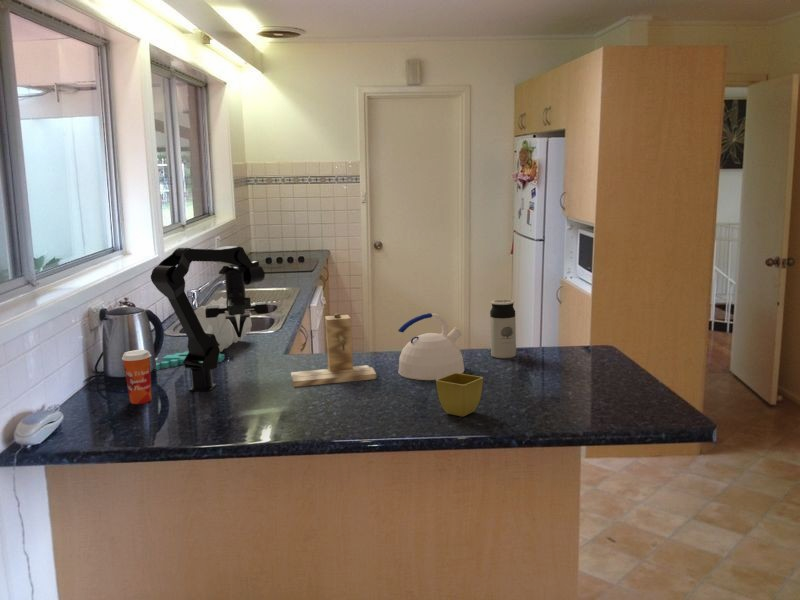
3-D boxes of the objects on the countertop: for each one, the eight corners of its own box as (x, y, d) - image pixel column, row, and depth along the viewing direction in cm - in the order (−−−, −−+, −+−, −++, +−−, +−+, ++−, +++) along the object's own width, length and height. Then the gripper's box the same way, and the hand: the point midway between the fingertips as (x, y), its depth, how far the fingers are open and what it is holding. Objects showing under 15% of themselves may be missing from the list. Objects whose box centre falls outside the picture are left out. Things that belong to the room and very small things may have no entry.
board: (294, 389, 212) (293, 381, 211) (290, 375, 227) (290, 367, 227) (376, 381, 216) (376, 373, 216) (368, 368, 232) (367, 360, 231)
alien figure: (211, 370, 239) (231, 355, 258) (210, 364, 238) (230, 349, 258) (151, 371, 241) (176, 356, 260) (151, 364, 241) (175, 350, 260)
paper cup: (125, 406, 203) (119, 357, 200) (127, 398, 210) (122, 350, 208) (155, 403, 205) (150, 354, 202) (156, 395, 212) (151, 348, 210)
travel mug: (490, 353, 244) (489, 299, 241) (514, 352, 243) (513, 298, 240) (492, 359, 236) (491, 303, 233) (517, 358, 236) (516, 303, 233)
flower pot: (456, 405, 192) (455, 371, 190) (484, 411, 186) (483, 376, 185) (436, 414, 185) (434, 380, 184) (464, 421, 180) (463, 385, 178)
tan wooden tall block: (333, 384, 212) (330, 322, 209) (328, 370, 227) (324, 313, 224) (357, 382, 213) (354, 320, 210) (350, 368, 228) (347, 311, 225)
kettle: (477, 374, 220) (475, 314, 217) (413, 384, 213) (410, 323, 209) (448, 359, 239) (446, 304, 235) (388, 368, 231) (385, 311, 228)
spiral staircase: (246, 349, 282) (221, 363, 257) (204, 330, 283) (176, 342, 259) (263, 306, 278) (239, 316, 254) (221, 287, 280) (194, 294, 255)
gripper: (202, 293, 216) (206, 345, 219) (266, 288, 220) (270, 340, 222) (204, 288, 227) (208, 337, 230) (266, 283, 230) (269, 332, 233)
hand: (239, 337), depth 228 cm, fingers closed
